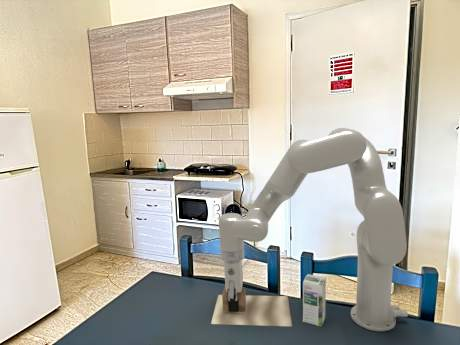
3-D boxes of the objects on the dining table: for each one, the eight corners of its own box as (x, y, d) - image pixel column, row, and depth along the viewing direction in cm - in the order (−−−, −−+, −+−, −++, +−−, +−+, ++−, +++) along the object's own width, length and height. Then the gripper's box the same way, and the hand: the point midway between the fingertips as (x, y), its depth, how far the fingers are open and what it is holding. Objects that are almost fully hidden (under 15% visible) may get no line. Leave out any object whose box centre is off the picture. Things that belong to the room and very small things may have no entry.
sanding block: (245, 304, 106) (245, 287, 105) (245, 313, 101) (244, 295, 100) (224, 303, 106) (224, 287, 105) (222, 312, 101) (222, 295, 100)
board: (287, 300, 110) (287, 296, 110) (291, 330, 94) (291, 326, 94) (218, 298, 112) (218, 294, 112) (211, 328, 97) (211, 323, 96)
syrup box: (302, 326, 96) (302, 281, 94) (307, 315, 101) (307, 272, 99) (321, 331, 93) (322, 285, 91) (325, 320, 99) (326, 276, 96)
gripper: (242, 265, 92) (244, 323, 95) (245, 242, 108) (247, 292, 111) (216, 265, 92) (219, 322, 95) (223, 242, 109) (225, 291, 112)
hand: (234, 305), depth 103 cm, fingers closed on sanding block, 5 cm apart
